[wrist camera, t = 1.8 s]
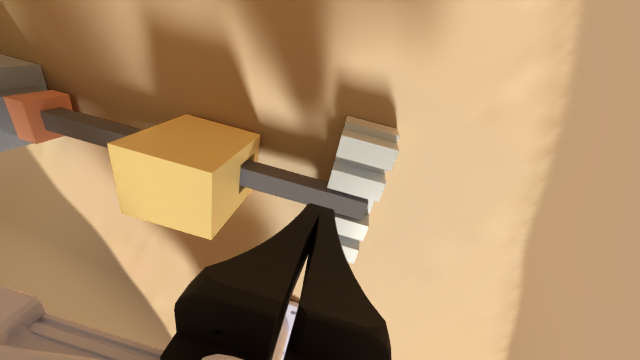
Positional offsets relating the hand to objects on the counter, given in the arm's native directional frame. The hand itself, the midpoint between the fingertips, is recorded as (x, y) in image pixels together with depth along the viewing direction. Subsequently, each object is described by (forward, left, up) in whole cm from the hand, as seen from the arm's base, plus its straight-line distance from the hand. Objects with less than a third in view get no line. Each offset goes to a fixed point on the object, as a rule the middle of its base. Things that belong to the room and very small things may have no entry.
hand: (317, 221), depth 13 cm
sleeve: (0, +8, -5) cm, 9 cm away
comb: (0, -1, -5) cm, 5 cm away
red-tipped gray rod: (0, +9, -4) cm, 10 cm away
